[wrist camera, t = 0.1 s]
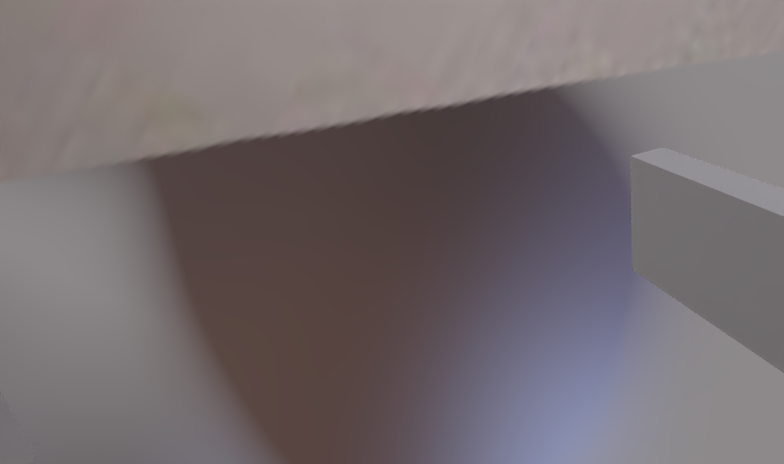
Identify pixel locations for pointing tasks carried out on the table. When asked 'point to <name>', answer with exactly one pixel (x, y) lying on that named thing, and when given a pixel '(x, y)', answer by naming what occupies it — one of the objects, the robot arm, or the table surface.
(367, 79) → the table surface
